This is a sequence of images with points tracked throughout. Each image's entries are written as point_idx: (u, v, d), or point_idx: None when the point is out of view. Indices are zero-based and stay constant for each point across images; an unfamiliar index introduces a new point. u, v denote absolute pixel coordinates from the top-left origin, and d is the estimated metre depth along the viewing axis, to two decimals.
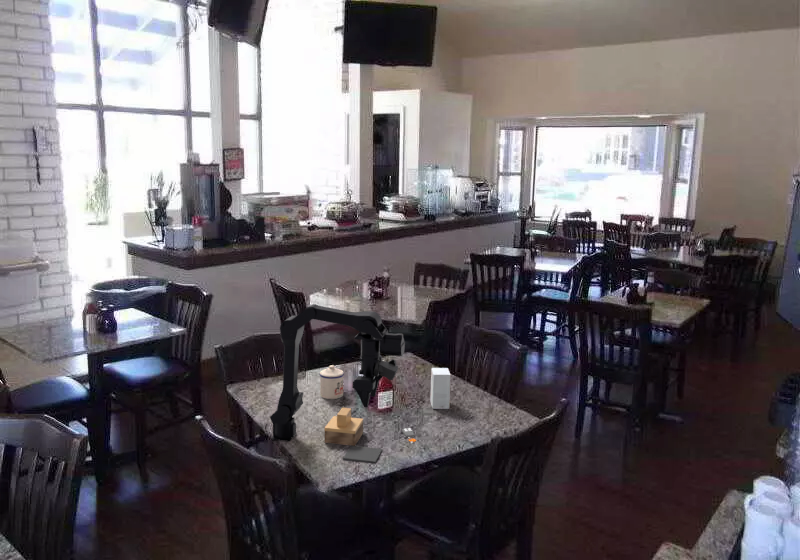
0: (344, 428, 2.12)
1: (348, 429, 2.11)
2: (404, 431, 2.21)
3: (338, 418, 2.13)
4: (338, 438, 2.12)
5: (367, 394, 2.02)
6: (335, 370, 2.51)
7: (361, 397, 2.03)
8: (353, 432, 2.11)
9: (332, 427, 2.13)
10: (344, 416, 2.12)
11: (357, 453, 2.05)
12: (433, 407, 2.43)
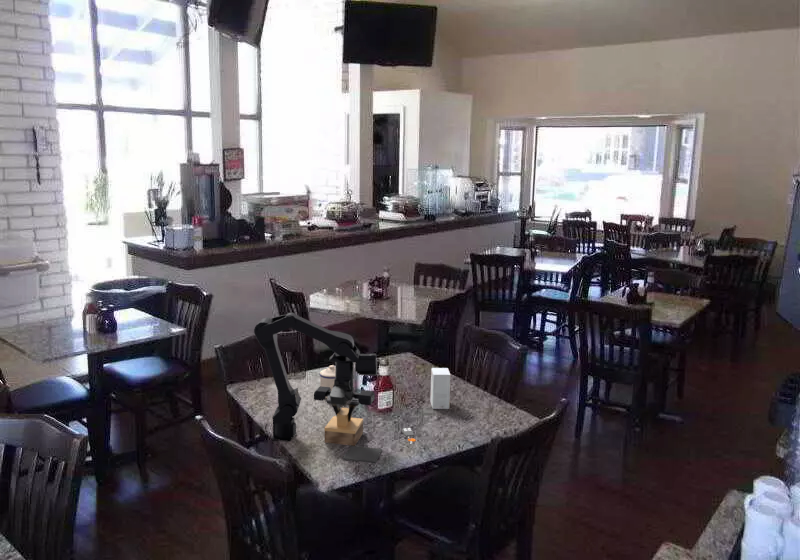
0: (344, 428, 2.12)
1: (348, 429, 2.11)
2: (404, 431, 2.21)
3: (338, 418, 2.13)
4: (338, 438, 2.12)
5: None
6: None
7: None
8: (353, 432, 2.11)
9: (332, 427, 2.13)
10: (344, 416, 2.12)
11: (357, 453, 2.05)
12: (433, 407, 2.43)
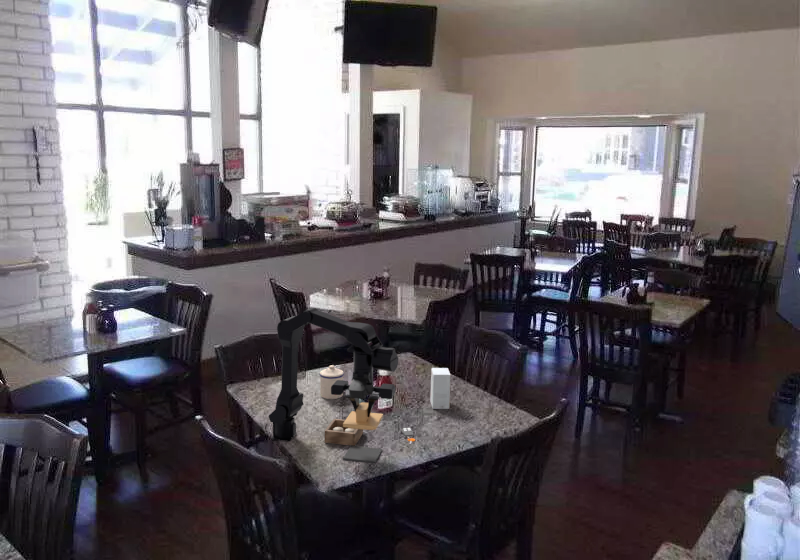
0: (364, 424, 1.99)
1: (368, 425, 1.99)
2: (403, 431, 2.22)
3: (357, 413, 2.00)
4: (338, 438, 2.12)
5: None
6: (335, 370, 2.51)
7: None
8: (374, 428, 1.98)
9: (351, 423, 2.00)
10: (364, 411, 2.00)
11: (357, 453, 2.05)
12: (433, 407, 2.43)
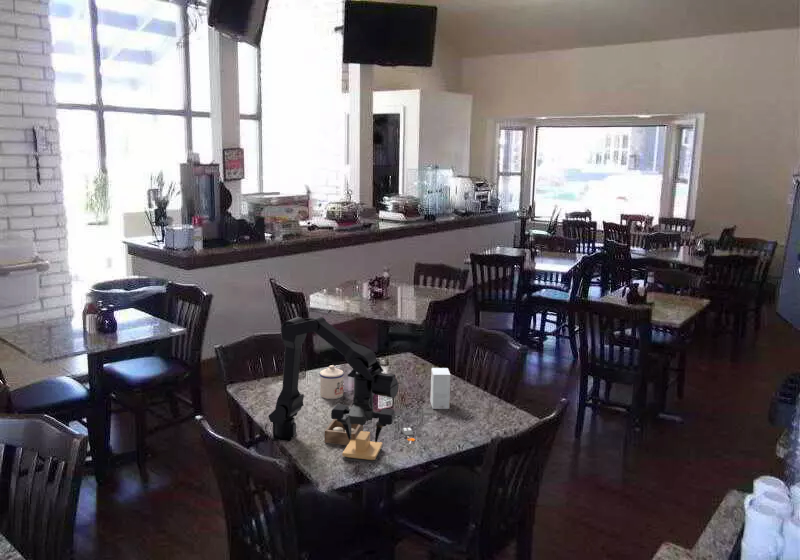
0: (363, 454, 2.01)
1: (367, 454, 2.00)
2: (403, 430, 2.22)
3: (357, 443, 2.02)
4: (338, 438, 2.12)
5: None
6: (335, 370, 2.51)
7: None
8: (373, 458, 1.99)
9: (350, 452, 2.01)
10: (363, 441, 2.01)
11: None
12: (433, 407, 2.43)
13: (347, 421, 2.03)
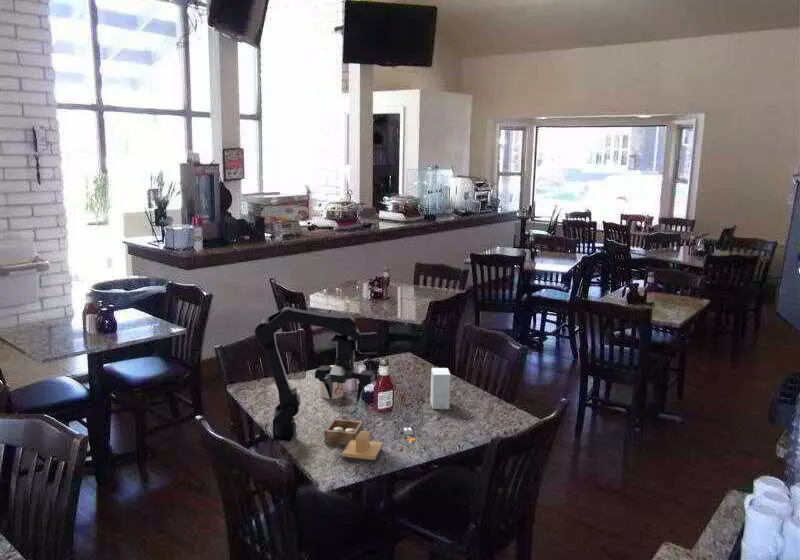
0: (363, 454, 2.01)
1: (367, 454, 2.00)
2: (404, 430, 2.22)
3: (357, 443, 2.02)
4: (338, 438, 2.12)
5: None
6: None
7: None
8: (373, 458, 1.99)
9: (350, 452, 2.01)
10: (363, 441, 2.01)
11: None
12: (433, 407, 2.43)
13: (328, 381, 2.16)
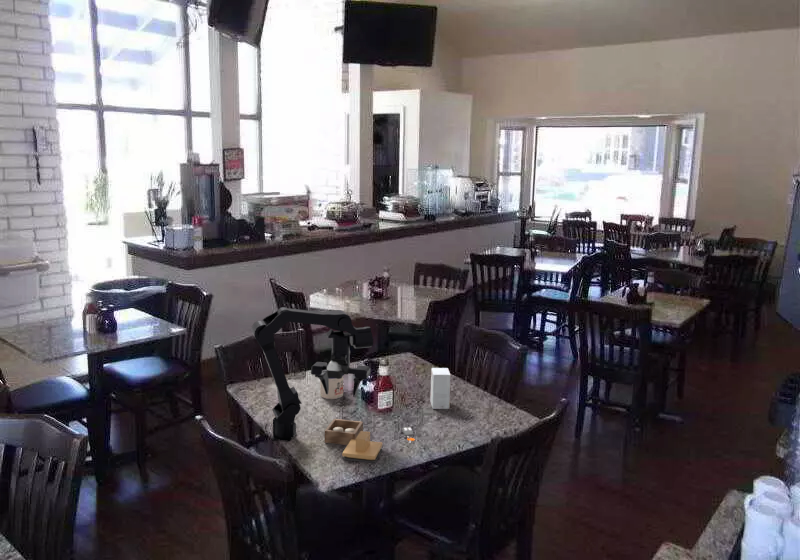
0: (363, 454, 2.01)
1: (367, 454, 2.00)
2: (404, 430, 2.22)
3: (357, 443, 2.02)
4: (338, 438, 2.12)
5: None
6: None
7: None
8: (373, 458, 1.99)
9: (350, 452, 2.01)
10: (363, 441, 2.01)
11: None
12: (433, 407, 2.43)
13: (324, 377, 2.20)
